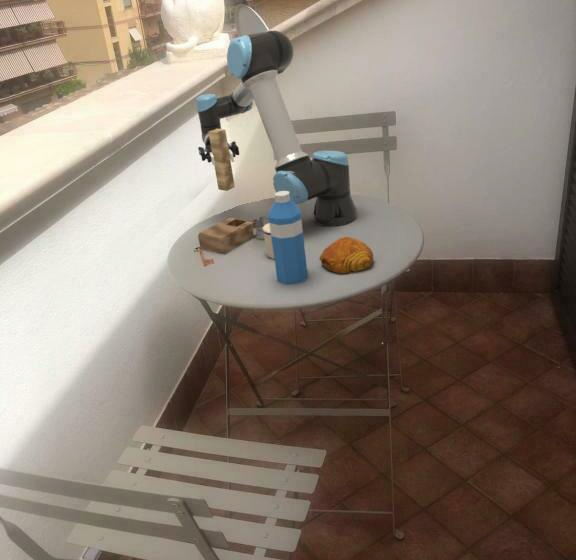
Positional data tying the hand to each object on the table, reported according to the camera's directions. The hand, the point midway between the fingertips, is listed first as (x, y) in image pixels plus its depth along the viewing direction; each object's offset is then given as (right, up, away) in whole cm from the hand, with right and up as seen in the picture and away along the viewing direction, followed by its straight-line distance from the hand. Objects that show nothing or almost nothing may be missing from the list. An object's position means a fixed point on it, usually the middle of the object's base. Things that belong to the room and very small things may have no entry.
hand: (222, 159), depth 189 cm
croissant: (+38, -35, -21) cm, 56 cm away
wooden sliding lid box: (+2, -27, +2) cm, 27 cm away
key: (-5, -32, -5) cm, 33 cm away
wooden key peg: (0, -8, +10) cm, 13 cm away
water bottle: (+23, -39, -25) cm, 52 cm away
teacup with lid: (+19, -31, -9) cm, 37 cm away
